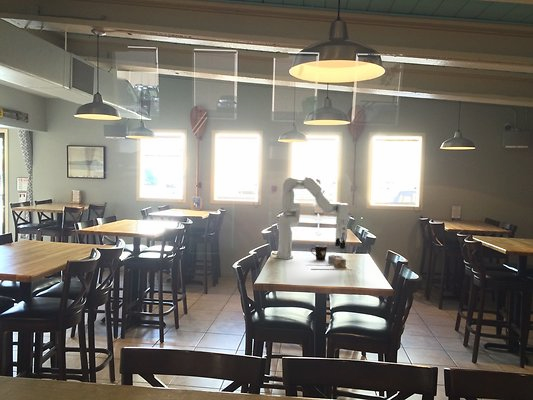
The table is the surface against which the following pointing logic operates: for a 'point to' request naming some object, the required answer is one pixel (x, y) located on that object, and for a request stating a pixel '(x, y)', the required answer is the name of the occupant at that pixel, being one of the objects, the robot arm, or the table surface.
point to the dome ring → (332, 259)
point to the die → (339, 263)
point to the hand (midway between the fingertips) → (339, 247)
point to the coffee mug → (320, 252)
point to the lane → (332, 269)
